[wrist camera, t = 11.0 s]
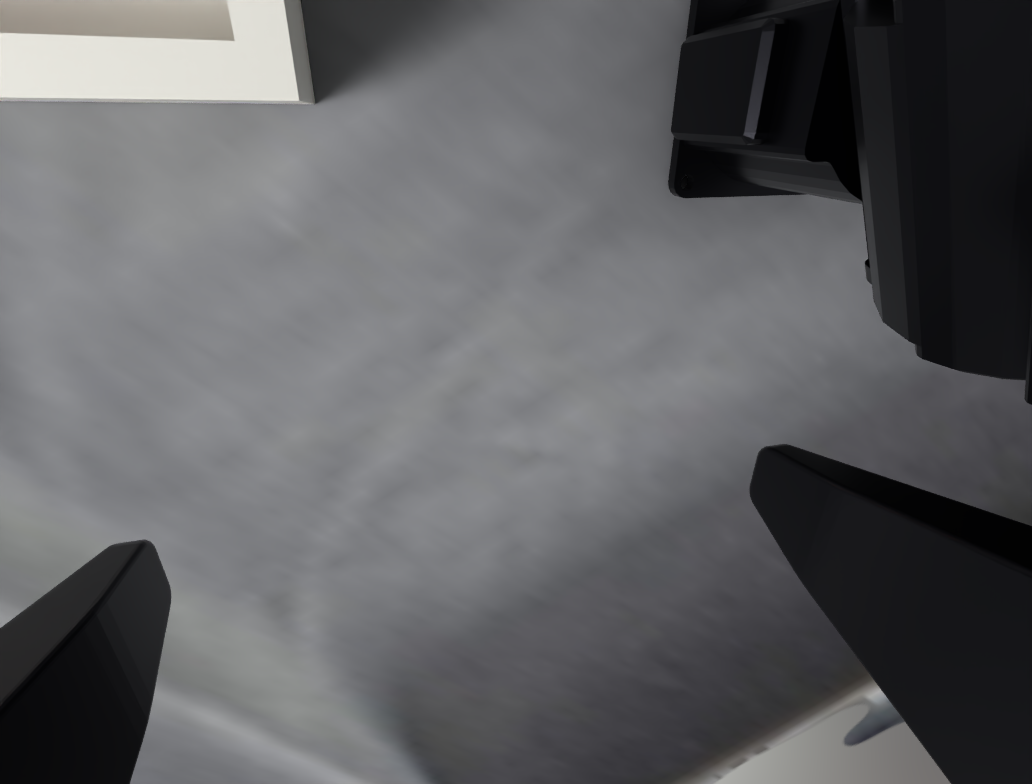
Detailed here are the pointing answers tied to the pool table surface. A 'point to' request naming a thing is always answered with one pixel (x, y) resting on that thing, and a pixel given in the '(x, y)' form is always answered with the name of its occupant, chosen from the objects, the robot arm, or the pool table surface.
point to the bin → (154, 51)
